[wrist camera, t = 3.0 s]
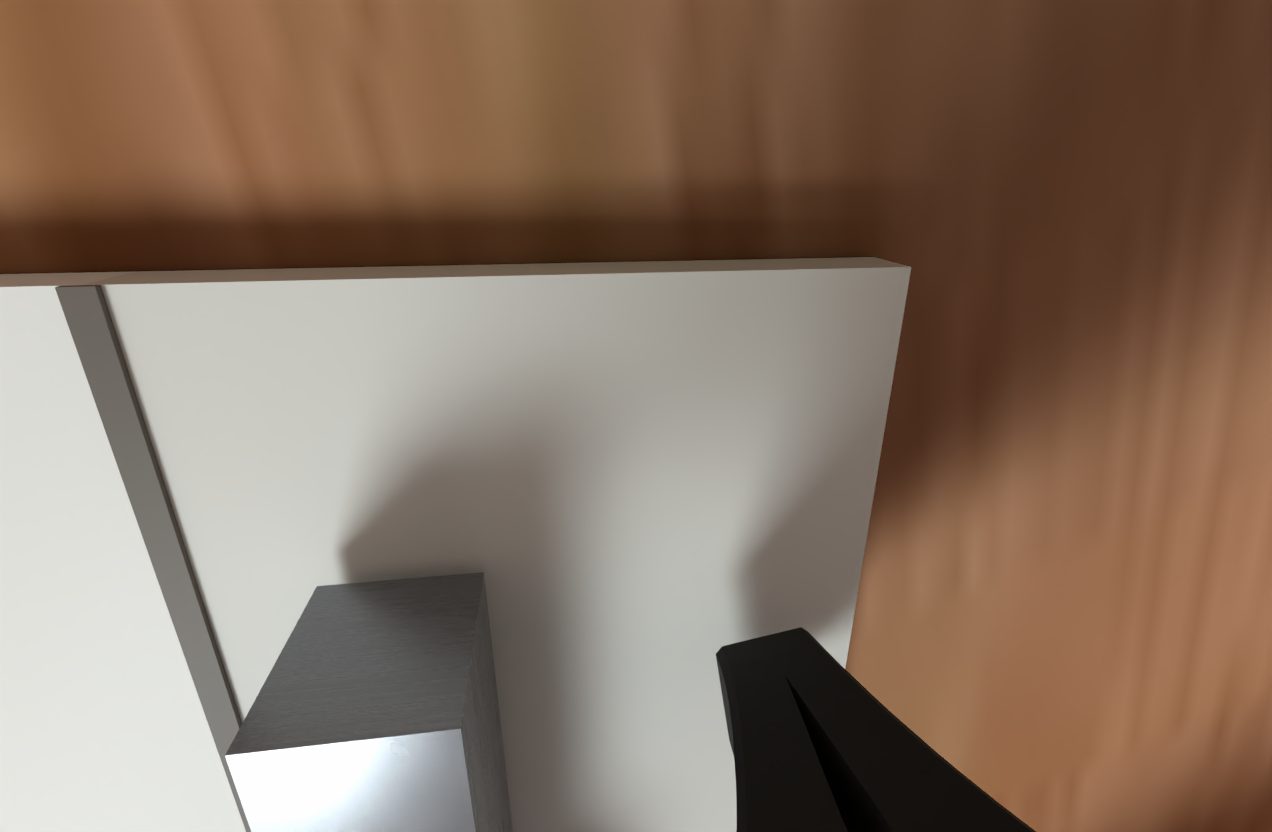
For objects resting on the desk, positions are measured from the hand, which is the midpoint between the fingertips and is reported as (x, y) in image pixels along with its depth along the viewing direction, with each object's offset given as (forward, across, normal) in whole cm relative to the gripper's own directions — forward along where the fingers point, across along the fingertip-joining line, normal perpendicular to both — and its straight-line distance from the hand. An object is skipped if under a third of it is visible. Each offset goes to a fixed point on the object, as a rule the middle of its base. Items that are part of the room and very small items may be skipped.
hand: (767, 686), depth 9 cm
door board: (+2, +7, +5) cm, 9 cm away
